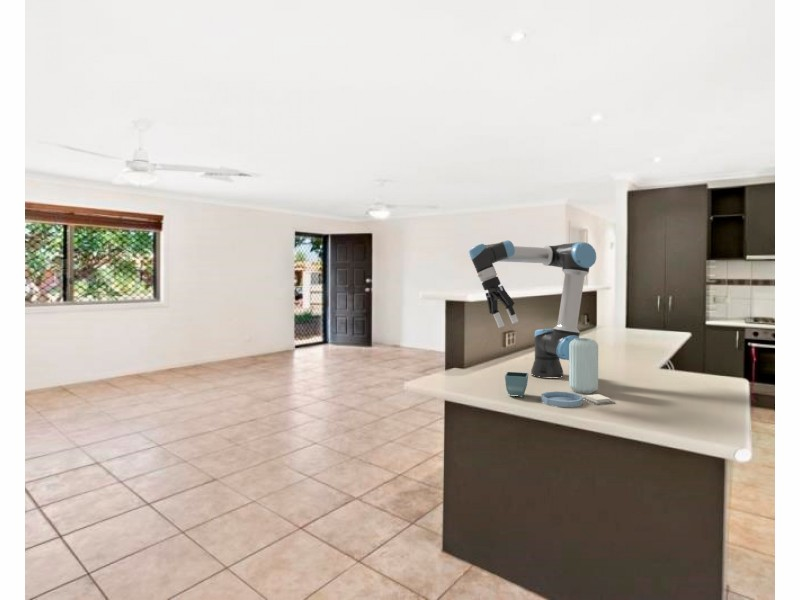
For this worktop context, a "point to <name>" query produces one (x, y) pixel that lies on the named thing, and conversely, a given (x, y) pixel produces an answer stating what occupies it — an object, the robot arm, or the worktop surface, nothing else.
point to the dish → (562, 399)
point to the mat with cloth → (598, 399)
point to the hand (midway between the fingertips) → (508, 325)
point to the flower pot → (516, 383)
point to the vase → (583, 365)
